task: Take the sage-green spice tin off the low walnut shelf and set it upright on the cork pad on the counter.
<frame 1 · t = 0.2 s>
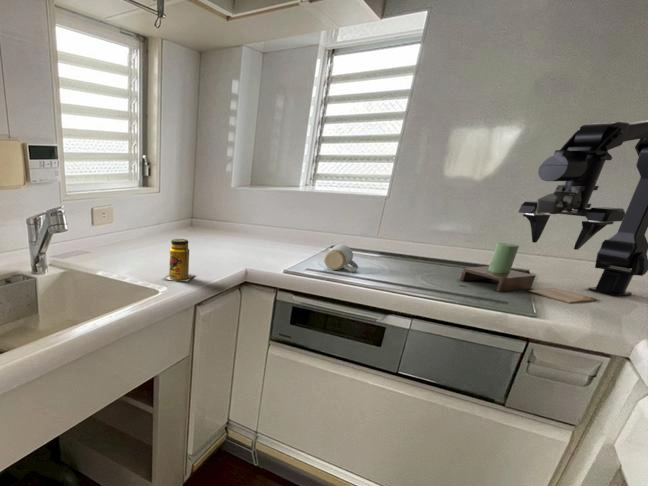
hand: (554, 245, 103), 15 cm above the countertop, tool pointing down, fingers open, 9 cm apart
condiment: (179, 278, 128), on the countertop
cork pad: (561, 295, 111), on the countertop
ceramic mug: (340, 269, 138), on the countertop
spice tin: (498, 271, 120), point 4 cm above the countertop, touching shelf
shelf: (494, 284, 121), on the countertop
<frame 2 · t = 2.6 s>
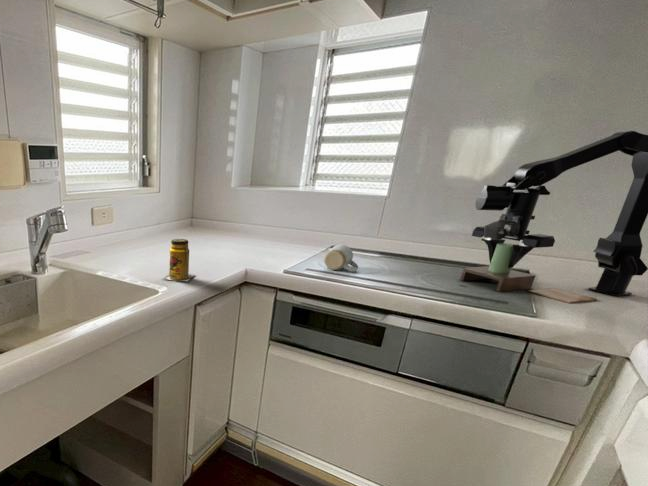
hand: (500, 265, 119), 6 cm above the countertop, tool pointing down, fingers closed on spice tin, 5 cm apart
spice tin: (498, 271, 120), point 4 cm above the countertop, touching gripper, shelf
everything else where it was.
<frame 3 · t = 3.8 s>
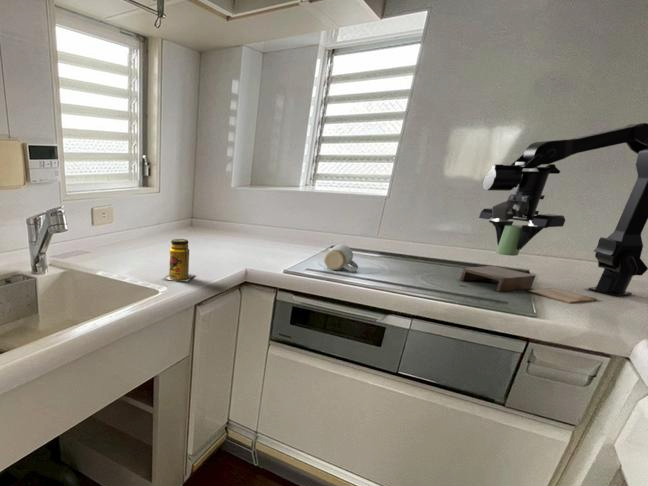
hand: (508, 247, 117), 11 cm above the countertop, tool pointing down, fingers closed on spice tin, 5 cm apart
spice tin: (506, 253, 117), point 9 cm above the countertop, touching gripper
everything else where it was.
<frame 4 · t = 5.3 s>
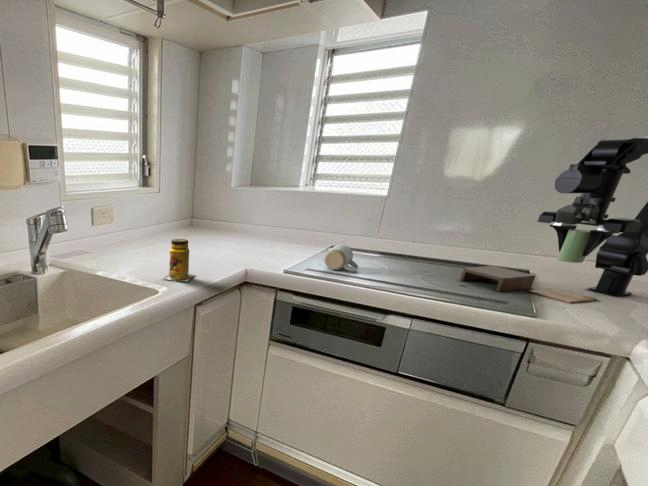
hand: (572, 254, 108), 12 cm above the countertop, tool pointing down, fingers closed on spice tin, 5 cm apart
spice tin: (569, 260, 108), point 10 cm above the countertop, touching gripper
everything else where it was.
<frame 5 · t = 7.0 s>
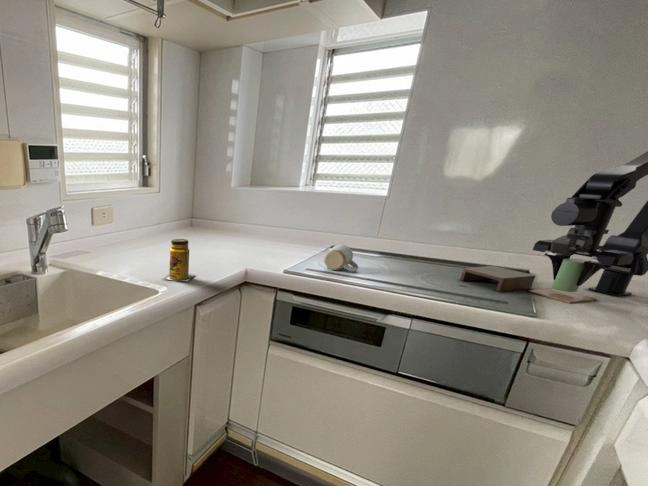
hand: (566, 282, 110), 4 cm above the countertop, tool pointing down, fingers closed on spice tin, 5 cm apart
spice tin: (564, 289, 110), point 2 cm above the countertop, touching gripper
everything else where it was.
when the fingers open (2 cm above the countertop, at t = 7.9 s): spice tin stays where it is, resting on cork pad.
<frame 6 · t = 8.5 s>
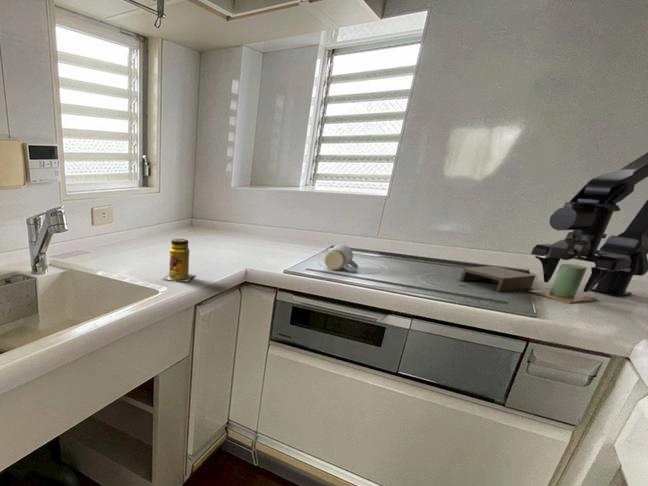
hand: (565, 286, 110), 3 cm above the countertop, tool pointing down, fingers open, 9 cm apart
spice tin: (561, 294, 111), resting on cork pad
everything else where it was.
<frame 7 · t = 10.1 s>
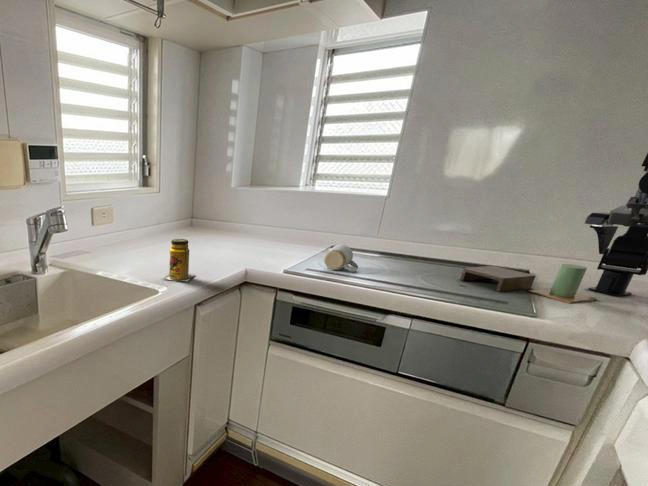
hand: (624, 257, 101), 12 cm above the countertop, tool pointing down, fingers open, 9 cm apart
nothing on the countertop moved.
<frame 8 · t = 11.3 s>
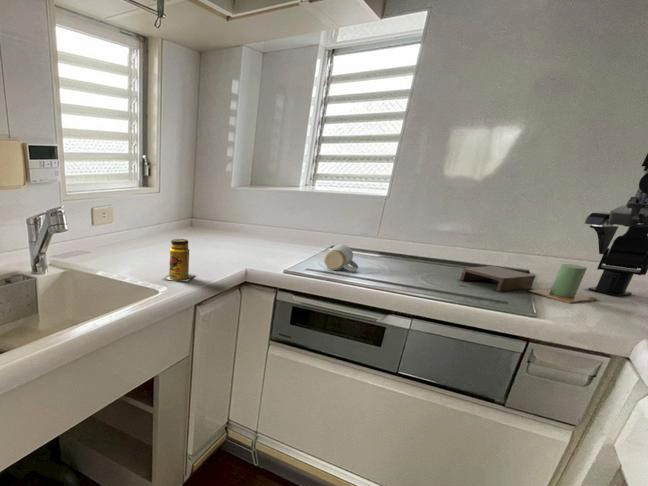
hand: (624, 257, 101), 12 cm above the countertop, tool pointing down, fingers open, 9 cm apart
nothing on the countertop moved.
at the end: spice tin inside the target area (0.0 cm from its centre), resting on cork pad; spice tin tilted 0°; spice tin touching cork pad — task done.
